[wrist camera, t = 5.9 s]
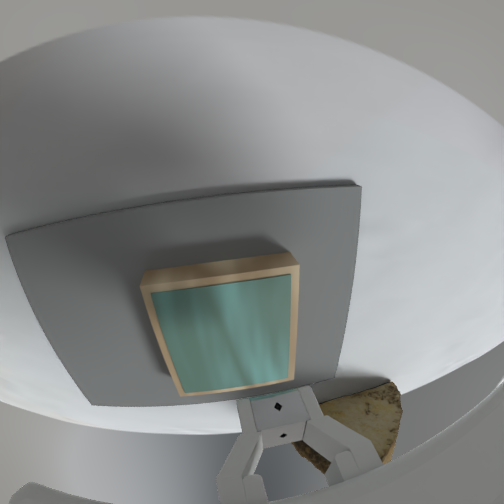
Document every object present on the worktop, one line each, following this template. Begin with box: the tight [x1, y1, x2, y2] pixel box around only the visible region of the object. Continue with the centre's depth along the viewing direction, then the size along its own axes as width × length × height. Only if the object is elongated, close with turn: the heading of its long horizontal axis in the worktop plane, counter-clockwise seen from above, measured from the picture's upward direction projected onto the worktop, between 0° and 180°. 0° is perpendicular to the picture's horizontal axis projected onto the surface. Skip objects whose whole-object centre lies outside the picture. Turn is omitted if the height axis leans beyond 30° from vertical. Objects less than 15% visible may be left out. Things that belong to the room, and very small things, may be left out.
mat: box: [5, 185, 362, 407], centre depth 14 cm, size 19×14×1 cm
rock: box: [291, 382, 403, 474], centre depth 19 cm, size 11×9×10 cm
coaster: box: [140, 252, 300, 397], centre depth 14 cm, size 2×8×7 cm
